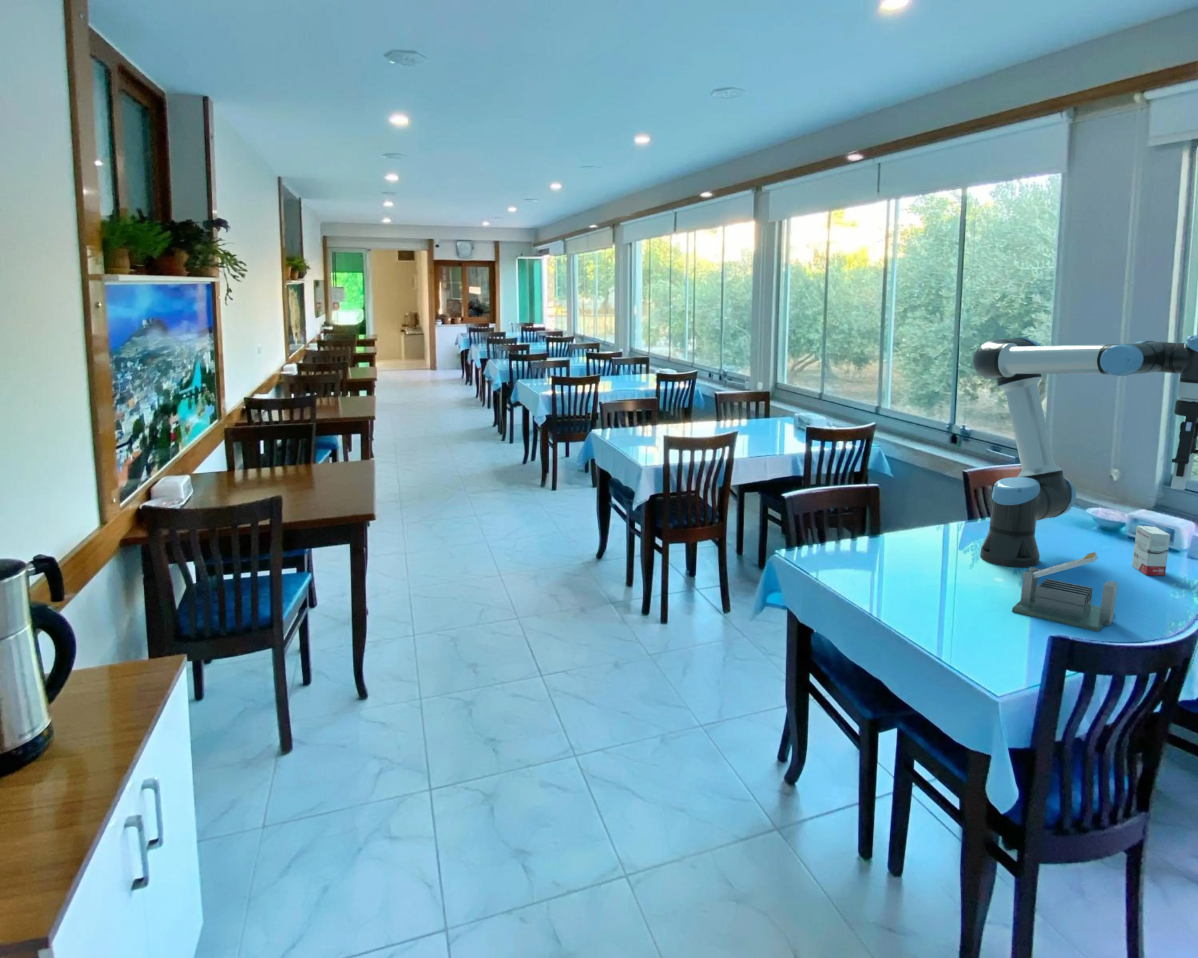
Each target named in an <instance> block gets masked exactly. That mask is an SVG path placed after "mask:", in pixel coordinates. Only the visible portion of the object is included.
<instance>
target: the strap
mask: <svg viewBox="0 0 1198 958" xmlns="http://www.w3.org/2000/svg"><path fill="white" fill-rule="evenodd" d="M1098 559H1099V557H1098V555H1097V553H1096V551H1094V552H1090V553H1087V554H1086V555H1085V556H1084V557H1082V558H1078V559H1075V560H1071V561H1068V562H1064V563H1062V564H1061V563H1060V564H1057V565H1053V566H1051V567H1047V568H1044V569H1039V571H1036V572H1031V573H1034V575H1033V579H1034V578H1038V579H1039V578H1040V577H1044V576H1048V575H1051V574H1055V573H1058V572H1062V571H1066V570H1070V569H1073V568H1076V567H1081V566H1084V565H1088V564H1092V563H1095V562H1096V561H1097V560H1098Z"/></svg>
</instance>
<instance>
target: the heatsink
mask: <svg viewBox="0 0 1198 958" xmlns="http://www.w3.org/2000/svg"><path fill="white" fill-rule="evenodd" d="M1039 570H1040V568H1037V567H1035V566H1030V567H1028V571H1025V570H1024V571H1023V574H1022V586H1021V594H1020V600H1019V601H1018V602H1017V603H1016V604H1015V605H1014V606H1013V607H1012V609H1011V611H1012V613H1016V614H1020V615H1025V616H1028V617H1034V618H1039V619H1041V620H1047V621H1051V622H1056V623H1060V624H1064V625H1068V626H1072V627H1077V628H1080V629H1084V630H1085V629H1086V630H1089V631H1093V632H1097V633H1098V632H1099V631H1101V629H1102V628H1103V626H1106V627H1110V625H1111V624H1113V621H1114V613H1115V609H1116V608H1115V606H1116V601H1117V592H1118V582H1116V581H1112V580H1106V582H1105V583H1104V584H1103V585H1102V586H1103V587H1102V593H1101V594H1102V595H1101V602H1100V603H1101V604H1100V606H1098V605H1094V604H1093V605H1092V601H1093V591H1094V588H1093V587H1091V586H1085V585H1081V584H1075V583H1069V582H1064V581H1060V580H1057V579H1056V580H1055V579H1051V578H1045V580H1043V581H1042V582H1041V583H1039V577H1038V578H1034V579H1033V575H1034V573H1031V572H1036V571H1039ZM1038 583H1039V584H1038Z"/></svg>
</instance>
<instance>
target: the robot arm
mask: <svg viewBox="0 0 1198 958" xmlns="http://www.w3.org/2000/svg"><path fill="white" fill-rule="evenodd" d="M972 364H973V368H974V370H975V371H976V373H977V374H978V375H979V376H981V377H982V378H984V379H988V380H996V382H997V386H998V389H1000V390H1001V391H1003V392H1004V393H1005V396H1006V402H1007V408H1008V411H1009V415H1010V421H1011V426H1012V430H1013V435H1014V439H1015V444H1016V448H1017V452H1018V457H1019V463H1020V467H1021V471H1020V472H1019V474H1018V475H1017V476H1014V477H1012V476H1011V477H1010V476H1009V477H1004V478H1002V479H999V480H996V482H995V483H994V485H993V489H992V493H991V508H990V519H989V520H990V521H989V530H988V534H987V535H986V537H985V539H984V541H983V542H982V545H981V547H980V555H979V556H980V558H981V559H983V560H984V561H986V562H989V563H992V564H995V565H1000V566H1004V567H1012V568H1029V567H1035V566H1038V564H1039V563H1040V558H1041V557H1040V555H1041V554H1040V551H1039V547H1038V544H1037V541H1036V540H1037V539H1036V537H1035V535H1036V525H1037V521H1041V520H1045V519H1052V518H1057V517H1060V516H1061V515H1064V514H1066V513H1068V512H1069V511H1070V510H1071V509H1072V508H1073V506H1074V504H1075V502H1076V500H1077V499H1076V497H1077V491H1076V488H1075V486H1074V484H1073V483H1072V481H1070V480H1069V479H1068V478H1067V477H1065V476H1064V472H1063V469H1062V468H1061V467H1059V466H1058V465H1056V463H1055V459H1054V454H1053V450H1052V449H1053V448H1052V446H1051V441H1050V436H1049V432H1048V431H1049V430H1048V427H1047V423H1046V418H1045V413H1044V409H1043V405H1042V400H1041V399H1042V398H1041V395H1040V391H1039V386H1038V385H1039V383H1040V382H1041V380H1042V379H1043V377H1042V376H1043V375H1052V374H1053V375H1108V376H1109V375H1111V376H1114V377H1115V376H1116V377H1121V376H1122V377H1125V376H1129V375H1137V374H1149V373H1150V374H1151V373H1164V374H1165V373H1166V374H1168V373H1170V374H1179V380H1178V385H1177V386H1178V387H1177V392H1176V397H1177V398H1178V399H1176V400H1175V405H1174V410H1173V411H1174V412H1173V413H1174V414H1175V415H1176V416H1179V417H1185V419H1184V421H1181V422H1180V424H1179V434H1178V439H1179V441H1178V445H1177V450H1176V456H1175V457H1174V458H1172V459H1171V463H1174V465H1173V466H1174V467H1173V472H1172V477H1171V484H1170V489H1174V490H1179V491H1180V490H1181V491H1185V490H1186V482H1187V480H1191V477H1192V470H1193V466H1194V461H1195V454H1196V455H1198V449H1197V441H1198V335H1197V334H1196V335H1195V334H1193V335H1188V336H1187V337H1186V340H1185V342H1169V341H1168V342H1167V341H1155V340H1142V341H1140V340H1139V341H1135V342H1134V343H1116V344H1115V343H1113V344H1077V345H1076V344H1070V345H1041V344H1040V343H1039V342H1038V341H1036V340H1034V339H1031V338H1026V337H1025V338H1024V337H1016V338H1015V337H1013V338H1004V339H999V338H998V339H991V340H987V341H985V342H984V343H982V344H980V345H979V346H978V348H976V350H975V351H974V354H973V357H972Z"/></svg>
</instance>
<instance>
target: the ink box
mask: <svg viewBox="0 0 1198 958" xmlns="http://www.w3.org/2000/svg"><path fill="white" fill-rule="evenodd" d="M1170 540H1171V534H1169V533H1167V532H1166V531H1164V530H1162V529H1161V528H1158V527H1157V526H1147V525H1137V526H1136V530H1135V540H1134V547H1133V553H1132V554H1133V557H1132V562H1131V566H1132V567H1134V568H1135V569H1137V571H1139V572H1140V573H1142V574H1143V575H1145V576H1161V577H1163V576H1166V570H1167V562H1168V556H1169V555H1168V554H1169V549H1170V548H1169V546H1170Z"/></svg>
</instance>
